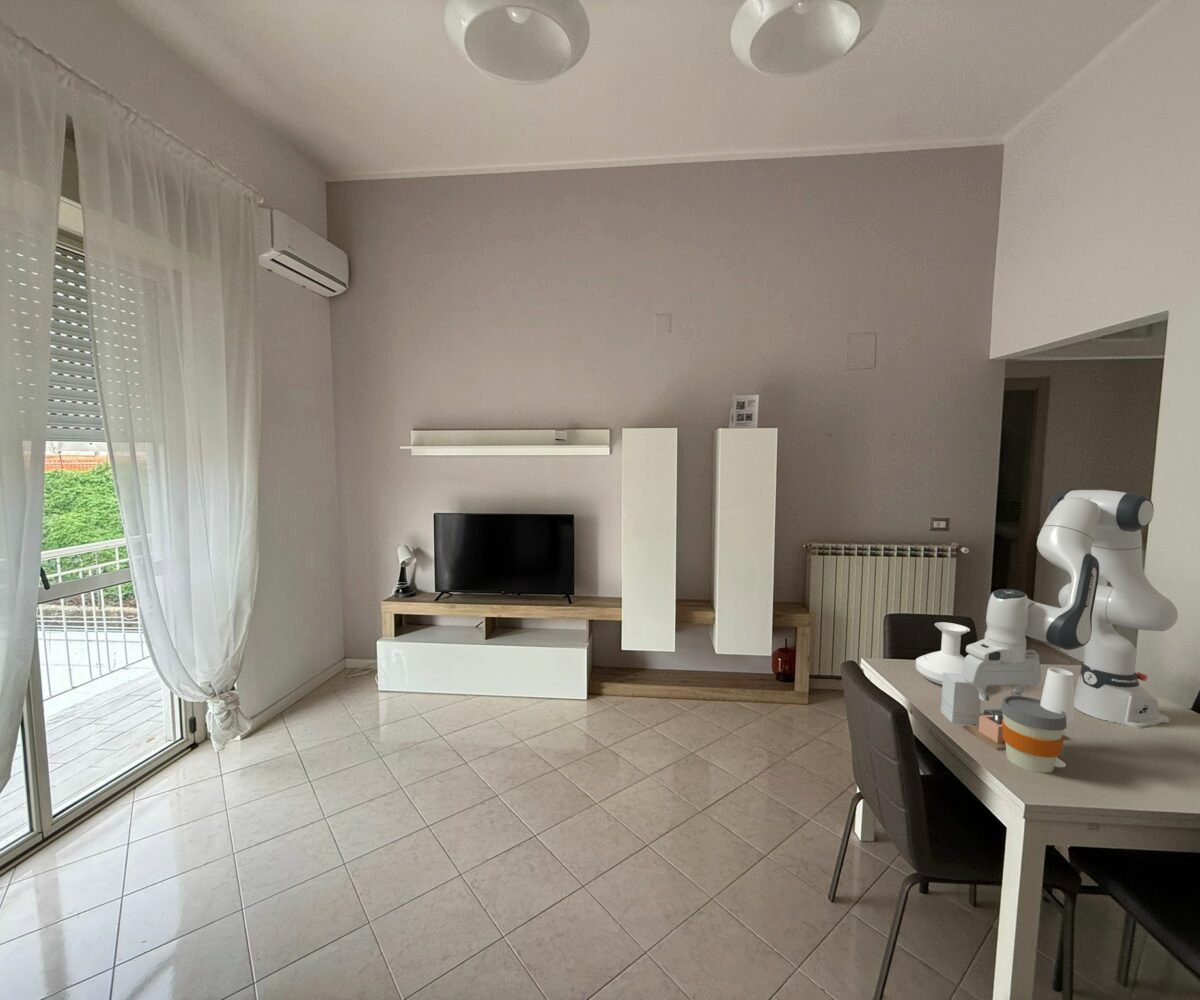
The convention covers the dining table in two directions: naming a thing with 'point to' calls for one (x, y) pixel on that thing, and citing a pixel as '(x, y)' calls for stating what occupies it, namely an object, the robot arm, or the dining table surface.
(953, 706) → the supplement box
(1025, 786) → the dining table surface
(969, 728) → the stake board
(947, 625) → the candle holder
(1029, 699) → the reusable coffee cup
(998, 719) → the cylinder
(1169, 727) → the dining table surface
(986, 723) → the collar
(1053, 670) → the champagne flute
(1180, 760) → the dining table surface
